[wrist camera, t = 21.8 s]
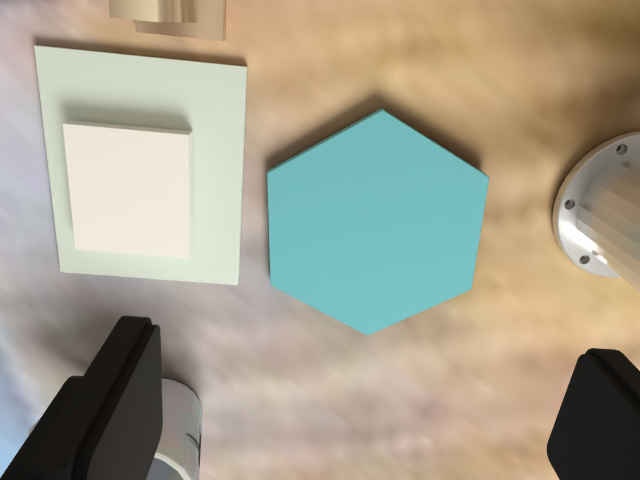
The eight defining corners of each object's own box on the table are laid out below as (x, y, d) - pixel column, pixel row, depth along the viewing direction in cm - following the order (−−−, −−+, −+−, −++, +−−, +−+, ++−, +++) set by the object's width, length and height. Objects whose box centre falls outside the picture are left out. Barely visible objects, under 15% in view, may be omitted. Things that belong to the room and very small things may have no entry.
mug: (199, 459, 52) (176, 552, 43) (53, 419, 50) (-4, 509, 40) (231, 383, 48) (213, 467, 39) (75, 336, 46) (17, 414, 37)
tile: (188, 135, 37) (62, 123, 36) (189, 258, 41) (75, 249, 40) (193, 130, 38) (72, 119, 38) (193, 250, 42) (83, 241, 42)
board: (247, 66, 37) (246, 67, 36) (239, 281, 44) (238, 285, 44) (38, 45, 36) (34, 45, 36) (63, 268, 43) (60, 271, 43)
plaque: (318, 343, 48) (517, 255, 44) (318, 357, 46) (526, 266, 42) (218, 192, 42) (441, 73, 38) (213, 200, 40) (447, 76, 36)
